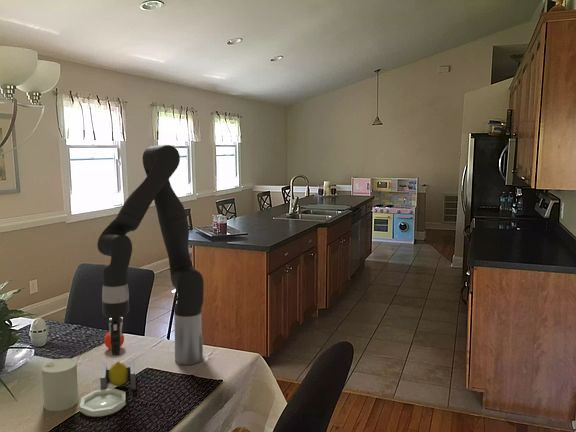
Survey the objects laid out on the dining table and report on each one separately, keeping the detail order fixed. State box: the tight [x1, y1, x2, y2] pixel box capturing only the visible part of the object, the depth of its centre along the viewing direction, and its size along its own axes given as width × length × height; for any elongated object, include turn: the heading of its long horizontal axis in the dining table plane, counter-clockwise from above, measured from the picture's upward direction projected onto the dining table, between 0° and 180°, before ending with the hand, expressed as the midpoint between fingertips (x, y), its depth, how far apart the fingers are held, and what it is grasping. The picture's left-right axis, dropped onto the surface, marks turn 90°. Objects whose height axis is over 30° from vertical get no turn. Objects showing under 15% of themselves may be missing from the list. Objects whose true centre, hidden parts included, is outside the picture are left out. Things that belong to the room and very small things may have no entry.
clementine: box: [103, 330, 125, 350], centre depth 173 cm, size 8×7×7 cm
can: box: [41, 357, 80, 412], centre depth 135 cm, size 9×9×12 cm
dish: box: [79, 387, 126, 418], centre depth 135 cm, size 12×12×2 cm
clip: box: [99, 358, 137, 390], centre depth 147 cm, size 10×11×5 cm
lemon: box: [108, 361, 129, 388], centre depth 145 cm, size 6×6×8 cm
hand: (116, 349), depth 144 cm, fingers open, 8 cm apart
